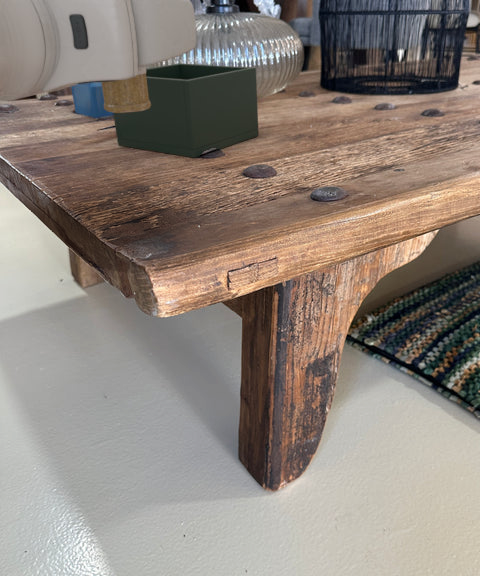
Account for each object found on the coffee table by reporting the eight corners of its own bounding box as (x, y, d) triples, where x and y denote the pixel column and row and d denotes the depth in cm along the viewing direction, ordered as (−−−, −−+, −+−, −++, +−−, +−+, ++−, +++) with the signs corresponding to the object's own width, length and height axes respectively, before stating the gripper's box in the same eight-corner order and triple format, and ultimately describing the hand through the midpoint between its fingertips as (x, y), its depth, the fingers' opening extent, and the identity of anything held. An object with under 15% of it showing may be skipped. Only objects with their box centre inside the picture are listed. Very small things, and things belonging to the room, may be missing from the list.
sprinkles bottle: (101, 108, 57) (76, -49, 51) (147, 104, 58) (128, -48, 52) (108, 115, 53) (81, -52, 47) (156, 111, 55) (137, -52, 48)
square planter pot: (118, 145, 77) (106, 74, 72) (185, 126, 87) (179, 63, 82) (195, 158, 70) (187, 80, 66) (258, 135, 80) (256, 67, 76)
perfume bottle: (78, 125, 89) (62, 41, 83) (113, 119, 93) (101, 38, 87) (97, 130, 85) (82, 43, 80) (134, 124, 89) (122, 40, 83)
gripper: (-81, 73, 45) (35, 55, 57) (148, 80, 40) (224, 59, 52) (-107, -17, 42) (20, -16, 54) (136, -22, 37) (219, -20, 49)
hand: (121, 21), depth 53 cm, fingers closed on sprinkles bottle, 4 cm apart
